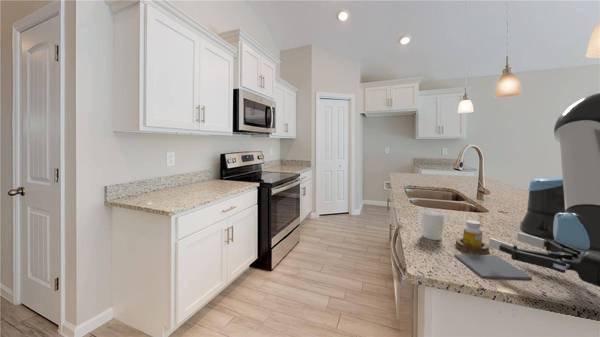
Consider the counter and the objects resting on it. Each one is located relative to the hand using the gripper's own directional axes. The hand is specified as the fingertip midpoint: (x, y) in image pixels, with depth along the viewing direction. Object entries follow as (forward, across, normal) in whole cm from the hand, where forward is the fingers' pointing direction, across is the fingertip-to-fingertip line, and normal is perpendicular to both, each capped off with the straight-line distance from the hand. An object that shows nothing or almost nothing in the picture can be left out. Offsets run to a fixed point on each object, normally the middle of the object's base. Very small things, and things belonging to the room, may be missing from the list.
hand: (504, 239), depth 74 cm
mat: (-1, -8, -7) cm, 11 cm away
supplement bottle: (+10, 0, -7) cm, 12 cm away
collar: (+10, 0, -7) cm, 12 cm away
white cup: (+22, -4, -7) cm, 24 cm away
